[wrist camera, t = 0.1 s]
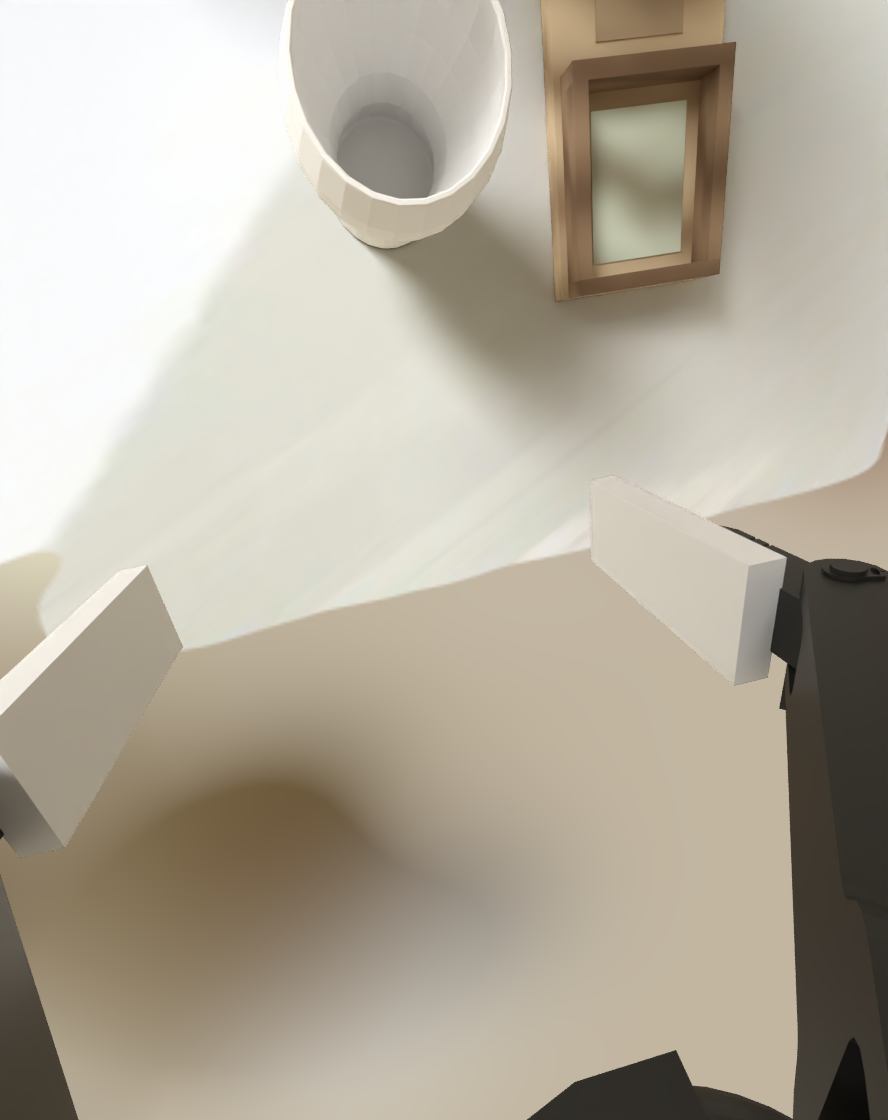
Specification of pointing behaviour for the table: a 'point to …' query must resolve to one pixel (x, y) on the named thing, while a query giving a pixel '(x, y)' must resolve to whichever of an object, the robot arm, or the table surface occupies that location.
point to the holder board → (635, 141)
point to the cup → (395, 108)
